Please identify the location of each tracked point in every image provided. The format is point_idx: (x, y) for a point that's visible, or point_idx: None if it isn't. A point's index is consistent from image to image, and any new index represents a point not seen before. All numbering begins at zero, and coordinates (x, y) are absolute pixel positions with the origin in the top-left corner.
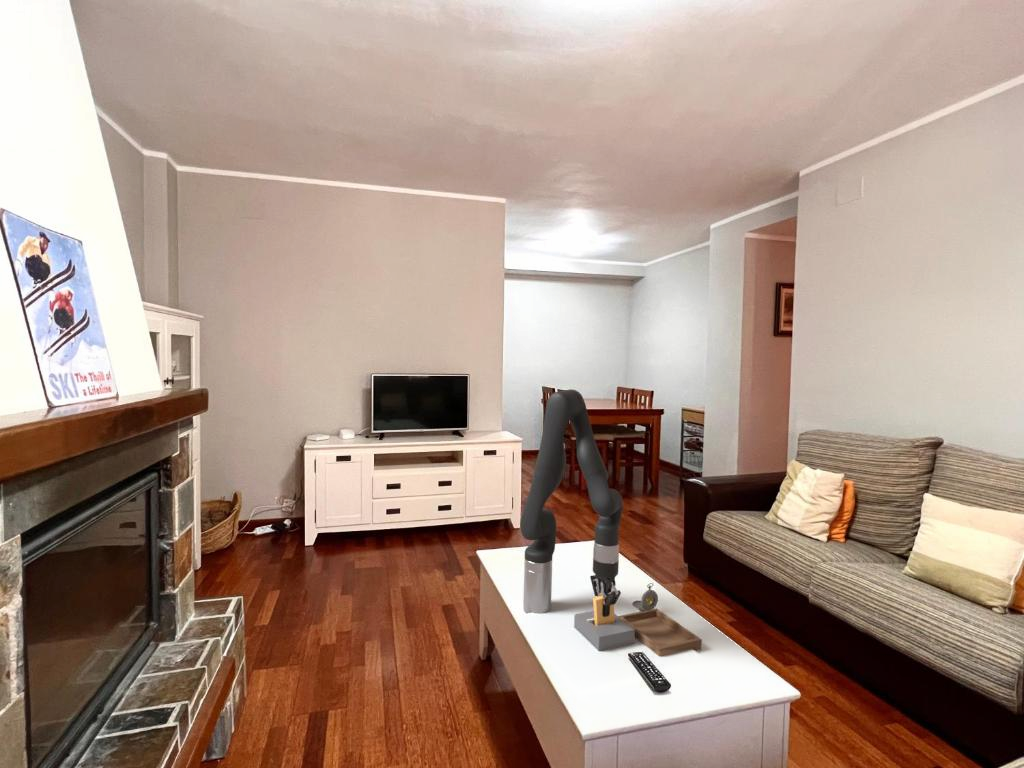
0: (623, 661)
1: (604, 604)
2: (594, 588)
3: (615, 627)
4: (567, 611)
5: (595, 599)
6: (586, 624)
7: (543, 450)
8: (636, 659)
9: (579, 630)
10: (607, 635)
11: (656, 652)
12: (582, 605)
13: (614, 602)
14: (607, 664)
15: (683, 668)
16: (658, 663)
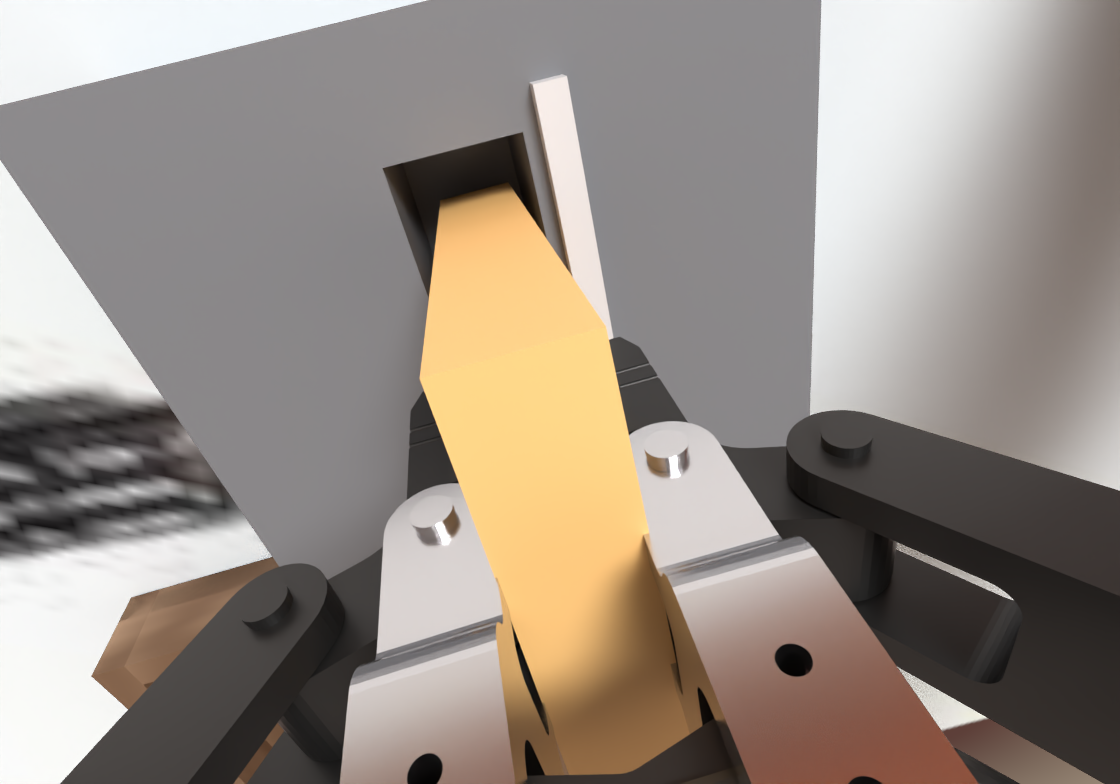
0: (20, 328)
1: (391, 517)
2: (1006, 526)
3: (346, 434)
4: (1107, 15)
5: (490, 377)
6: (436, 17)
7: None
8: (97, 449)
9: None
10: (83, 275)
11: (151, 622)
12: (1104, 232)
13: (261, 765)
14: None
15: (40, 701)
16: (70, 584)
